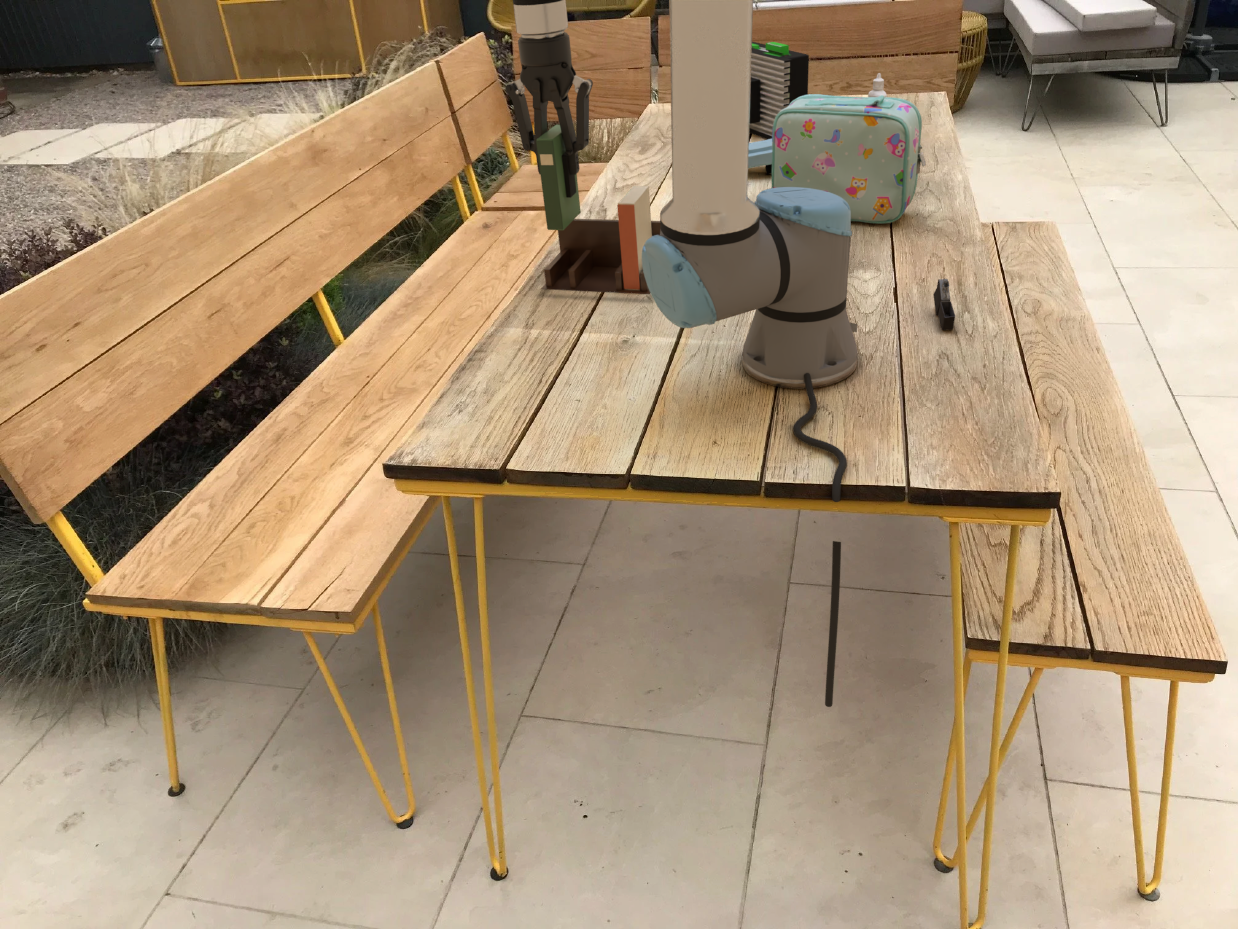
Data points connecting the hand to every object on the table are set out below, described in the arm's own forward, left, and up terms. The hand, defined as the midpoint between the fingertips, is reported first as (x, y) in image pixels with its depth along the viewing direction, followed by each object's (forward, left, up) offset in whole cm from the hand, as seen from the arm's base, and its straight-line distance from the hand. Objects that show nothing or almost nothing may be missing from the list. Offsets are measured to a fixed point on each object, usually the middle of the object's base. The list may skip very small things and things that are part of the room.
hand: (561, 194), depth 150 cm
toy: (+62, -19, -15) cm, 67 cm away
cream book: (0, -12, -14) cm, 18 cm away
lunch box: (+37, -41, -15) cm, 57 cm away
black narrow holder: (-6, -59, -15) cm, 62 cm away
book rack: (0, -6, -15) cm, 16 cm away
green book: (0, 0, -4) cm, 4 cm away
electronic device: (+95, -15, -15) cm, 98 cm away
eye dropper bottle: (+98, -42, -15) cm, 108 cm away
